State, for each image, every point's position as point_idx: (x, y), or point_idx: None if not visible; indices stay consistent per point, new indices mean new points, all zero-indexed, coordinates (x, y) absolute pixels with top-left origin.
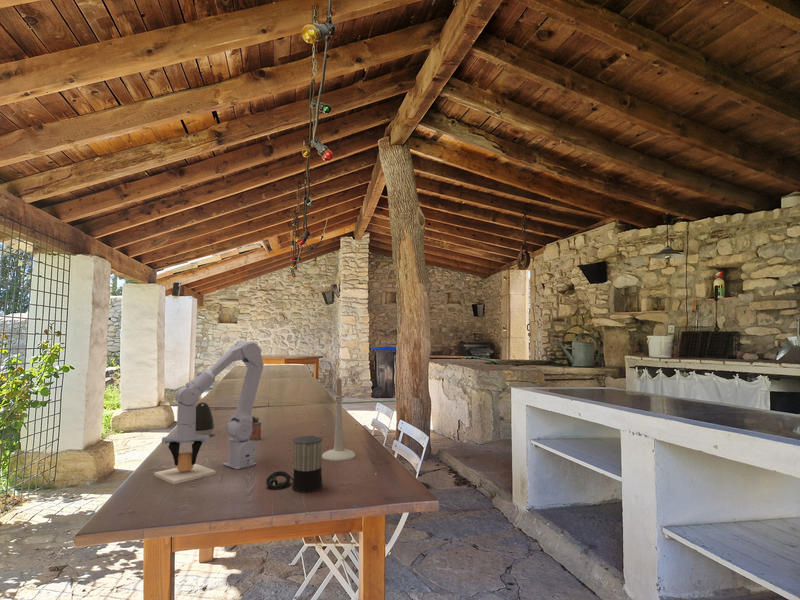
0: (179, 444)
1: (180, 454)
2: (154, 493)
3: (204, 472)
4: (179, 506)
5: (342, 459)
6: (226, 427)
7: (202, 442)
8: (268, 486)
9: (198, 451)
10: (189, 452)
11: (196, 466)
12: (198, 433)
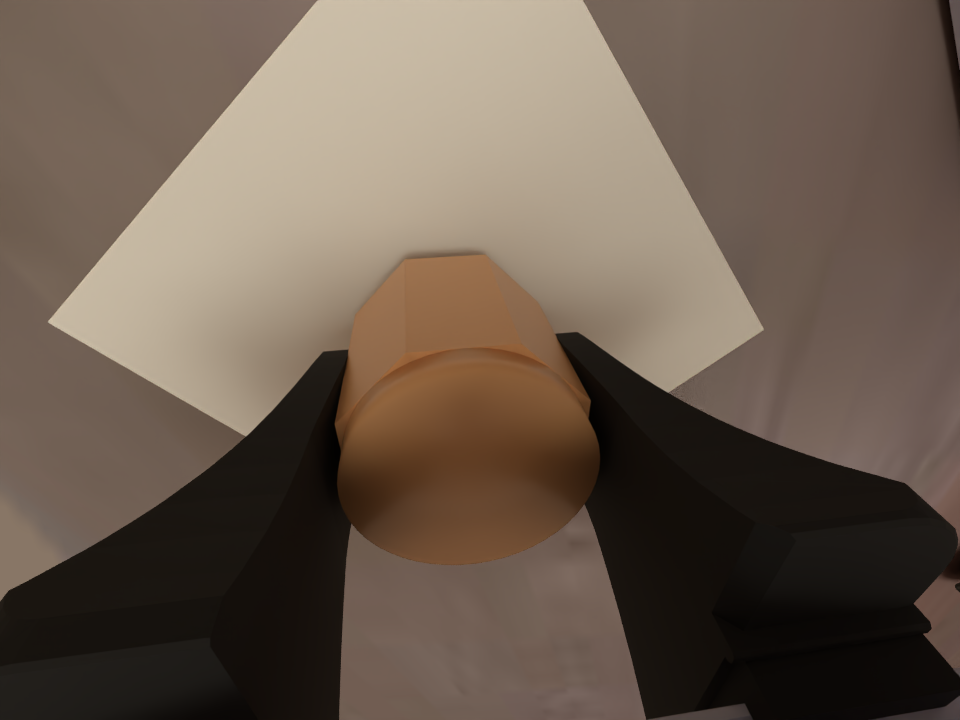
0: (264, 594)
1: (395, 528)
2: (371, 626)
3: (654, 365)
4: (552, 703)
5: None
6: None
7: (918, 559)
8: (955, 586)
9: (695, 419)
10: (522, 419)
11: (540, 90)
12: None
